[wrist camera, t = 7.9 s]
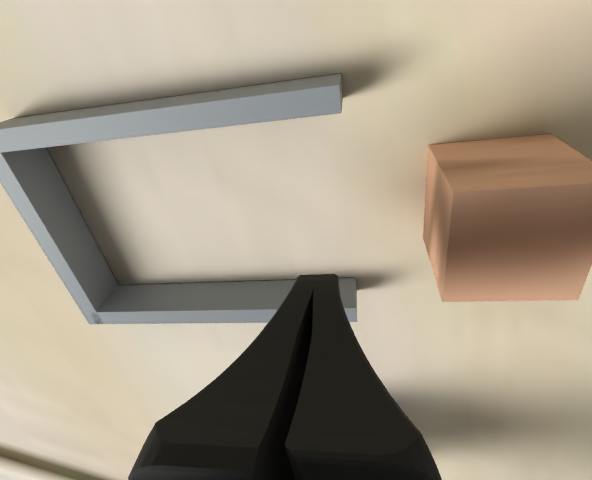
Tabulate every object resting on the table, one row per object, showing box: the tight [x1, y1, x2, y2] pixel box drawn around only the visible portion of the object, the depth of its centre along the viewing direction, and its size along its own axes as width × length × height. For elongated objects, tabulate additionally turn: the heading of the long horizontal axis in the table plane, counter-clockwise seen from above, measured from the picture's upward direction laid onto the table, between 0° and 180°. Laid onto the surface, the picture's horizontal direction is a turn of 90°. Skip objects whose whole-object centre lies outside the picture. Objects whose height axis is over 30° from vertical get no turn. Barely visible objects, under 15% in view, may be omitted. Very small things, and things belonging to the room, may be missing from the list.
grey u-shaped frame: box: [0, 74, 357, 324], centre depth 19 cm, size 12×16×2 cm
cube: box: [423, 134, 592, 302], centre depth 15 cm, size 5×5×5 cm
